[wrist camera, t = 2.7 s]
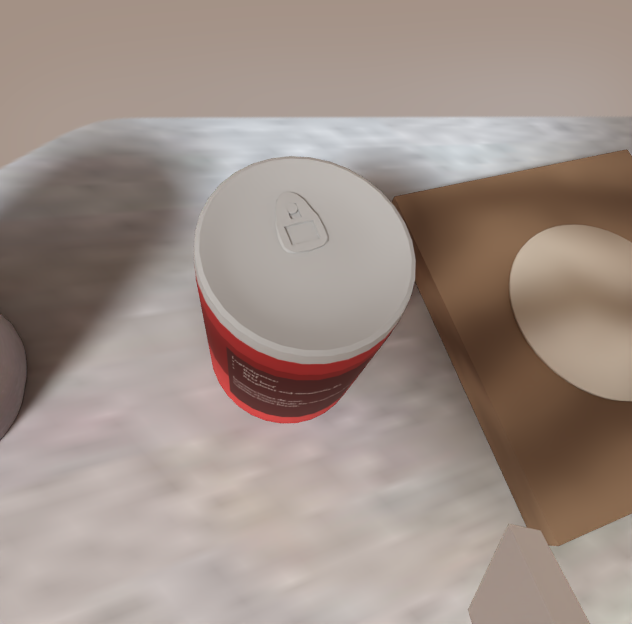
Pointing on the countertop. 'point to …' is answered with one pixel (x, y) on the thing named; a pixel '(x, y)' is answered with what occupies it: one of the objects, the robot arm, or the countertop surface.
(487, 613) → the robot arm
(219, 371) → the canned food
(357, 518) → the countertop surface
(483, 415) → the board
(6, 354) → the pillar candle
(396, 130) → the countertop surface
